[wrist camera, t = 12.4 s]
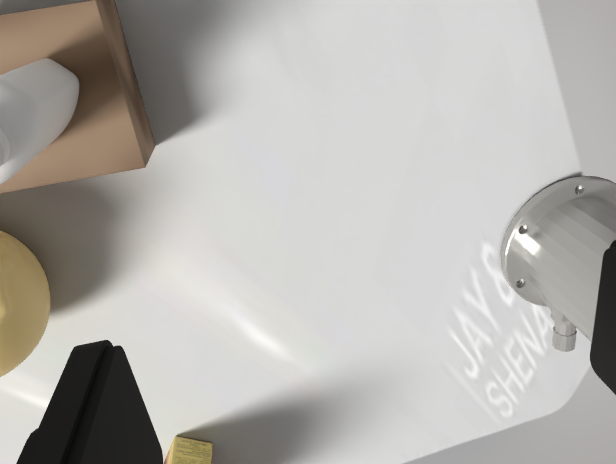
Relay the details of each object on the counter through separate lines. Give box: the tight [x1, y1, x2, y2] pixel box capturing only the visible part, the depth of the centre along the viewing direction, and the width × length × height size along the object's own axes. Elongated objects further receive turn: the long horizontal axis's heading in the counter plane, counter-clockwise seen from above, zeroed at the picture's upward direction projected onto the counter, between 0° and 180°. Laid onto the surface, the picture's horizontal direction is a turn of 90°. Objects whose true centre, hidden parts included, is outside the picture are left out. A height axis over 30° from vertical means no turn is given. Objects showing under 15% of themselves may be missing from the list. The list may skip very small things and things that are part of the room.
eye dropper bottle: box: [0, 58, 79, 185], centre depth 26 cm, size 4×6×12 cm
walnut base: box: [0, 0, 155, 193], centre depth 33 cm, size 10×10×5 cm
